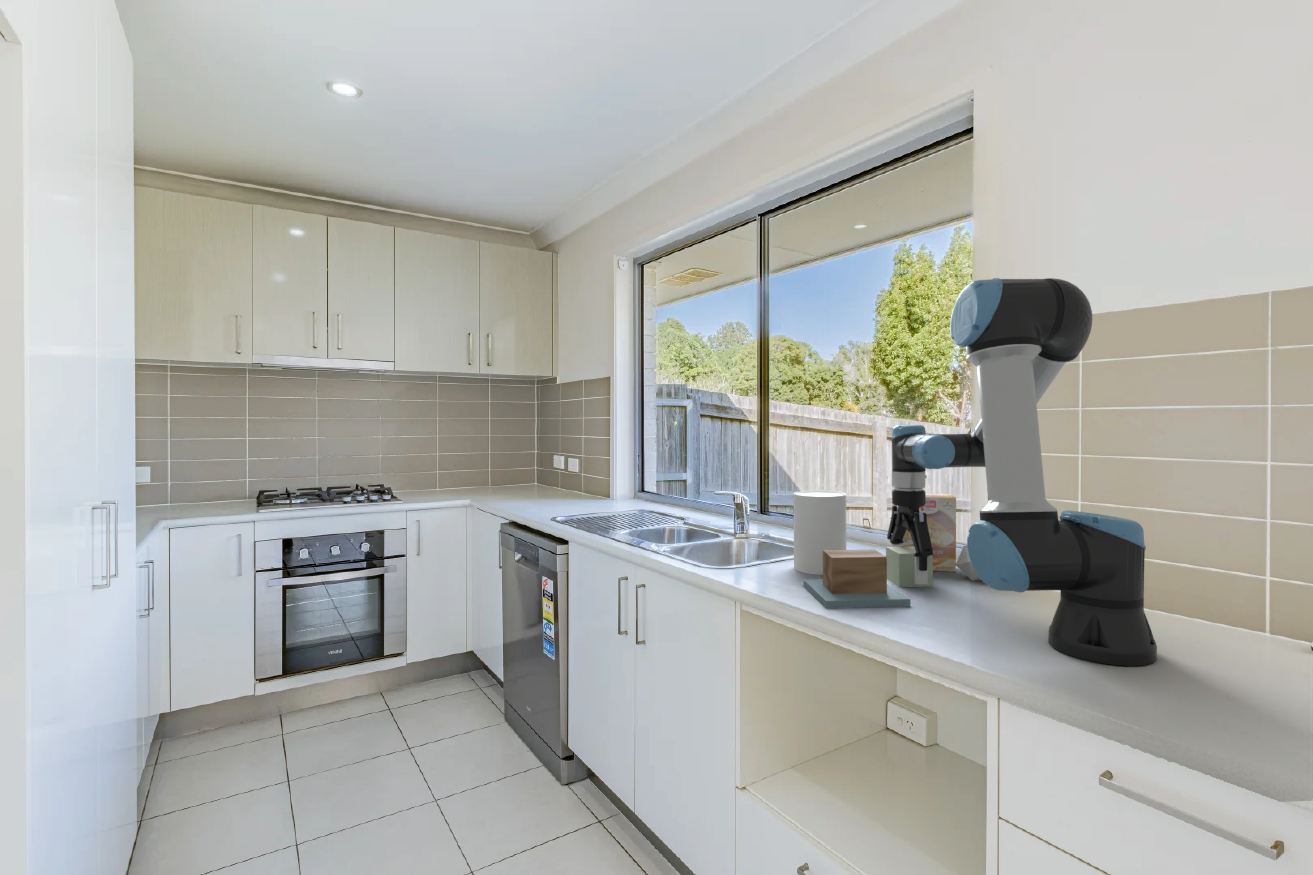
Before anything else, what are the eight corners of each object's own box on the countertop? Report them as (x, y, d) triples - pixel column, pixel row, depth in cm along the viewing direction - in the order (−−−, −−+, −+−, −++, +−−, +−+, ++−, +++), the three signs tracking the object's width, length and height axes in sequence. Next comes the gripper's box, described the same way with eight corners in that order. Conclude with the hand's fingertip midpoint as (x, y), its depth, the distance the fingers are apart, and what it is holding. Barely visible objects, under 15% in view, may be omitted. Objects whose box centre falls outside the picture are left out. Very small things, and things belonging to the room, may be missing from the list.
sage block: (932, 586, 150) (932, 553, 150) (899, 587, 150) (899, 553, 149) (917, 578, 158) (917, 546, 158) (885, 578, 158) (885, 546, 157)
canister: (836, 561, 176) (835, 490, 176) (854, 573, 163) (853, 496, 162) (788, 563, 175) (787, 491, 175) (802, 575, 162) (801, 497, 161)
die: (1000, 587, 150) (1010, 550, 154) (966, 569, 150) (977, 532, 154) (976, 591, 158) (986, 556, 162) (945, 574, 158) (956, 539, 162)
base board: (910, 606, 134) (910, 599, 134) (826, 608, 134) (826, 600, 134) (877, 584, 152) (877, 577, 152) (803, 585, 152) (803, 579, 152)
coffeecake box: (895, 570, 166) (894, 495, 166) (891, 563, 173) (891, 492, 173) (956, 572, 163) (956, 496, 162) (950, 565, 170) (950, 493, 169)
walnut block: (886, 593, 139) (886, 556, 139) (832, 593, 139) (831, 557, 139) (874, 583, 147) (874, 549, 147) (822, 584, 147) (822, 550, 147)
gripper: (949, 494, 141) (949, 590, 142) (902, 483, 166) (902, 564, 166) (916, 495, 141) (916, 590, 141) (873, 483, 165) (874, 564, 166)
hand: (908, 576), depth 154 cm, fingers open, 13 cm apart
